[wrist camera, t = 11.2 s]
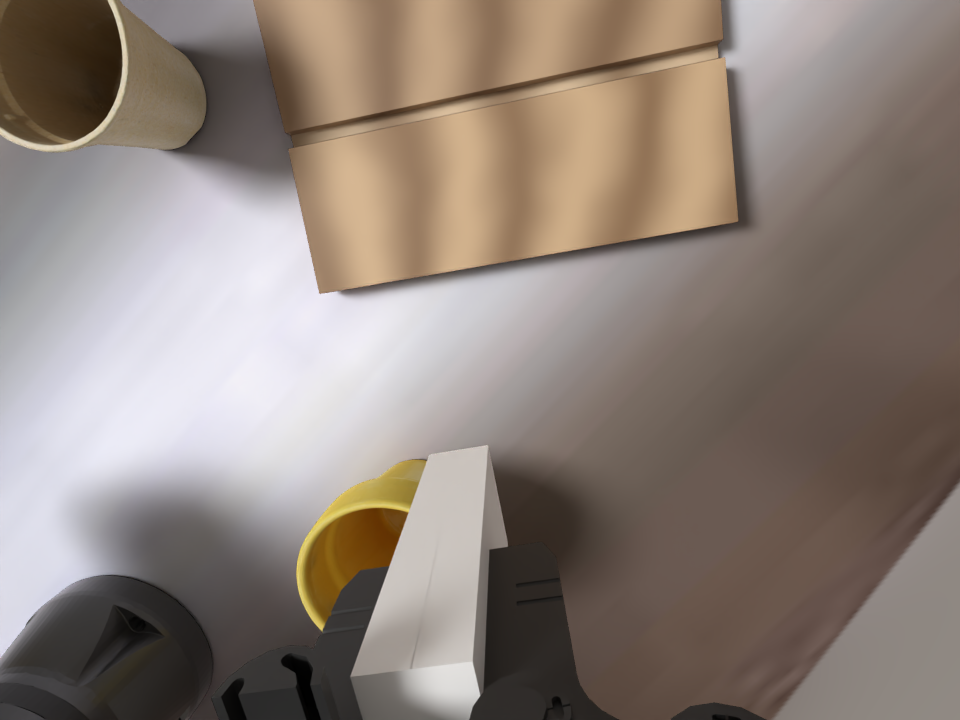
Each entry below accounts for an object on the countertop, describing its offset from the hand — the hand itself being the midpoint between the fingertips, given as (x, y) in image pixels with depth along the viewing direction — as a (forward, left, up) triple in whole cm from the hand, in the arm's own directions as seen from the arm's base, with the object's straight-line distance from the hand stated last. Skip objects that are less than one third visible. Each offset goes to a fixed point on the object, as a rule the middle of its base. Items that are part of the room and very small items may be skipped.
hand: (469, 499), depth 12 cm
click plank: (+2, +9, -21) cm, 23 cm away
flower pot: (-19, +19, -22) cm, 35 cm away
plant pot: (-8, -11, -22) cm, 26 cm away
